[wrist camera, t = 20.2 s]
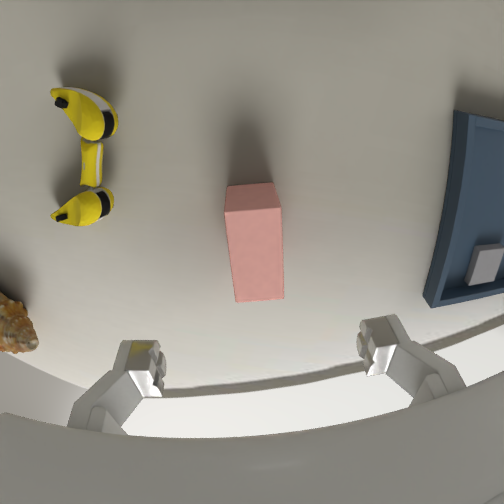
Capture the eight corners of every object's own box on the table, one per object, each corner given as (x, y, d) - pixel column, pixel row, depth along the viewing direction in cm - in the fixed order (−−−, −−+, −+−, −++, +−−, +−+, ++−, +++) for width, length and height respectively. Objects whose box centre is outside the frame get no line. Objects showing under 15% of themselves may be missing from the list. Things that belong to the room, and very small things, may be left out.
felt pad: (463, 280, 26) (468, 286, 25) (474, 245, 24) (480, 250, 23) (489, 275, 26) (493, 281, 25) (499, 243, 24) (505, 247, 23)
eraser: (236, 265, 24) (235, 303, 20) (226, 185, 21) (223, 211, 17) (277, 262, 24) (284, 299, 20) (273, 181, 21) (281, 206, 17)
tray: (422, 295, 27) (430, 308, 25) (453, 109, 18) (468, 113, 16) (508, 279, 27) (517, 289, 25) (543, 132, 18) (556, 137, 16)
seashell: (16, 247, 26) (7, 308, 19) (49, 299, 31) (54, 362, 24) (-39, 280, 23) (-55, 343, 16) (-4, 326, 28) (-6, 389, 21)
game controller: (128, 228, 21) (96, 247, 18) (74, 206, 23) (42, 220, 20) (139, 88, 16) (99, 88, 14) (77, 85, 18) (41, 89, 15)
